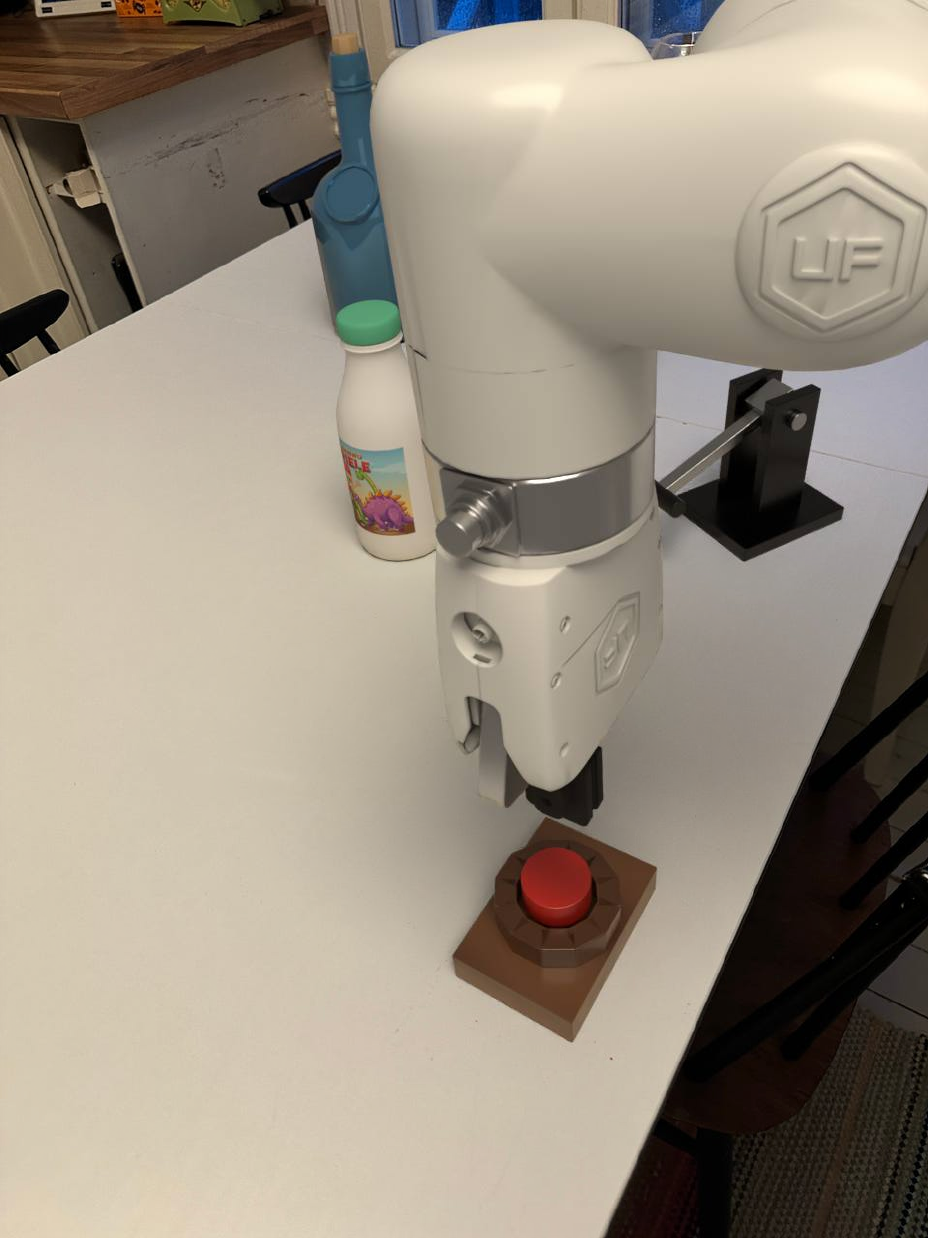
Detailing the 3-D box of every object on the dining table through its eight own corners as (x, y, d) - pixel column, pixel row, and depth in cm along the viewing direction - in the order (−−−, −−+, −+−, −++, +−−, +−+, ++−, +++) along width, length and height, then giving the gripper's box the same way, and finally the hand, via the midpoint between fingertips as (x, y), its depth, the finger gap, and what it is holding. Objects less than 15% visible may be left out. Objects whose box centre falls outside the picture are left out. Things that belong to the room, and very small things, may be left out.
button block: (572, 1043, 46) (571, 1006, 44) (455, 976, 49) (447, 937, 47) (655, 889, 52) (659, 848, 49) (546, 837, 55) (544, 796, 53)
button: (571, 939, 46) (570, 921, 45) (509, 907, 48) (507, 889, 47) (603, 884, 49) (603, 865, 47) (543, 855, 50) (542, 836, 49)
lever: (675, 526, 69) (666, 505, 68) (636, 494, 73) (627, 474, 71) (811, 419, 70) (807, 395, 68) (766, 393, 73) (760, 370, 71)
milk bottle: (413, 498, 83) (379, 279, 70) (468, 534, 79) (442, 306, 65) (342, 536, 80) (292, 314, 67) (395, 576, 75) (352, 345, 62)
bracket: (744, 562, 72) (762, 429, 65) (673, 507, 79) (682, 380, 71) (842, 519, 75) (871, 387, 68) (766, 469, 82) (785, 343, 74)
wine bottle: (357, 298, 118) (309, 23, 98) (456, 301, 114) (427, 17, 94) (315, 347, 108) (253, 54, 88) (422, 352, 105) (382, 48, 85)
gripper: (525, 637, 25) (559, 974, 37) (731, 381, 33) (704, 722, 46) (312, 564, 28) (407, 894, 40) (549, 350, 37) (569, 674, 49)
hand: (564, 802), depth 43 cm, fingers closed
